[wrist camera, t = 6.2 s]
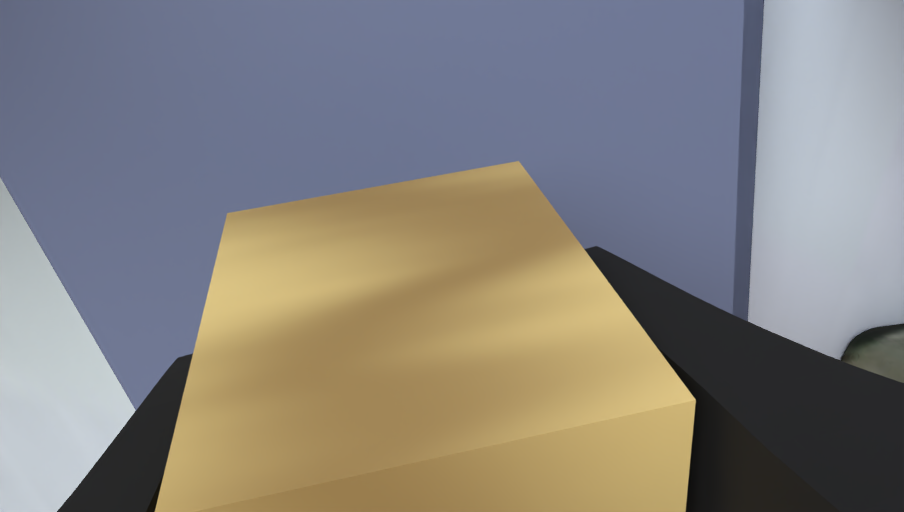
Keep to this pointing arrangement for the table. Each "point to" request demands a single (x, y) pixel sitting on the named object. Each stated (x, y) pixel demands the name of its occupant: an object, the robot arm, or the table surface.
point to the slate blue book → (366, 132)
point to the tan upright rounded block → (879, 351)
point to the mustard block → (423, 363)
